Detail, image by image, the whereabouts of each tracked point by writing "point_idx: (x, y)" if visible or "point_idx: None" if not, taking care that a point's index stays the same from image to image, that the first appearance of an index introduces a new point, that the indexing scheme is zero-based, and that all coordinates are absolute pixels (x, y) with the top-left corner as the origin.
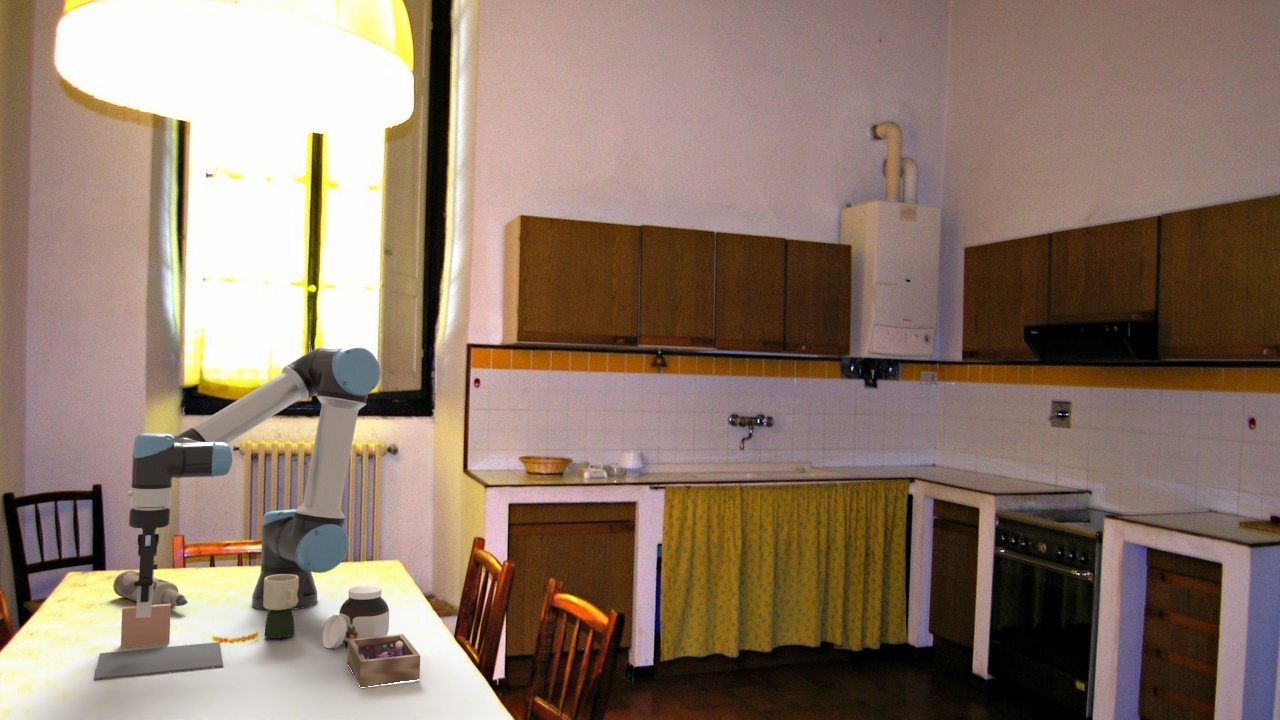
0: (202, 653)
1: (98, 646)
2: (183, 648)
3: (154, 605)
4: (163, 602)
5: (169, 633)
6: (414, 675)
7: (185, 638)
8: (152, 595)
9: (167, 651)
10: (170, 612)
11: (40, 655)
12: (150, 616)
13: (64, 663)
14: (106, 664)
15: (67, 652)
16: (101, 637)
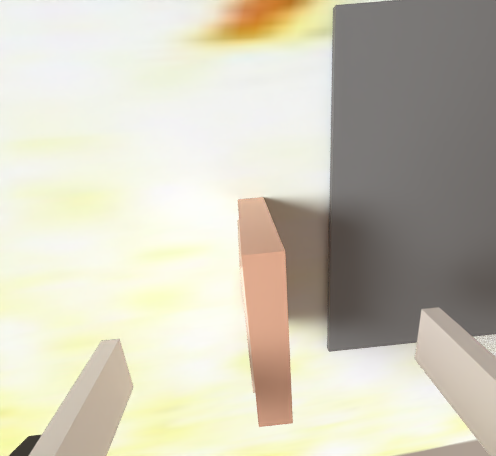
0: (462, 71)
1: (245, 362)
2: (370, 145)
3: (263, 322)
4: None
5: (266, 206)
6: None
7: (219, 149)
8: (107, 362)
9: (384, 192)
10: (278, 235)
11: (284, 442)
12: (441, 310)
13: (364, 396)
14: None
15: None
16: (160, 369)
